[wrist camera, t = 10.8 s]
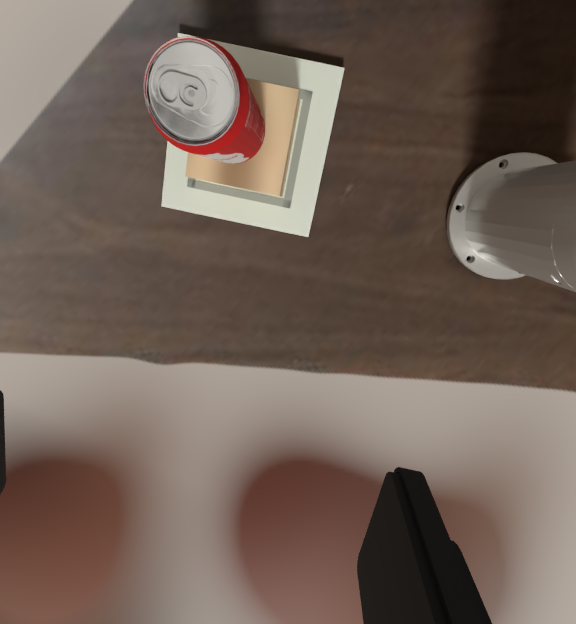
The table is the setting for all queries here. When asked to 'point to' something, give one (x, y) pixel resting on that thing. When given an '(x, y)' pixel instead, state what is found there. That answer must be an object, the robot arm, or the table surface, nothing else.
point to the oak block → (273, 153)
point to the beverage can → (203, 101)
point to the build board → (303, 159)
